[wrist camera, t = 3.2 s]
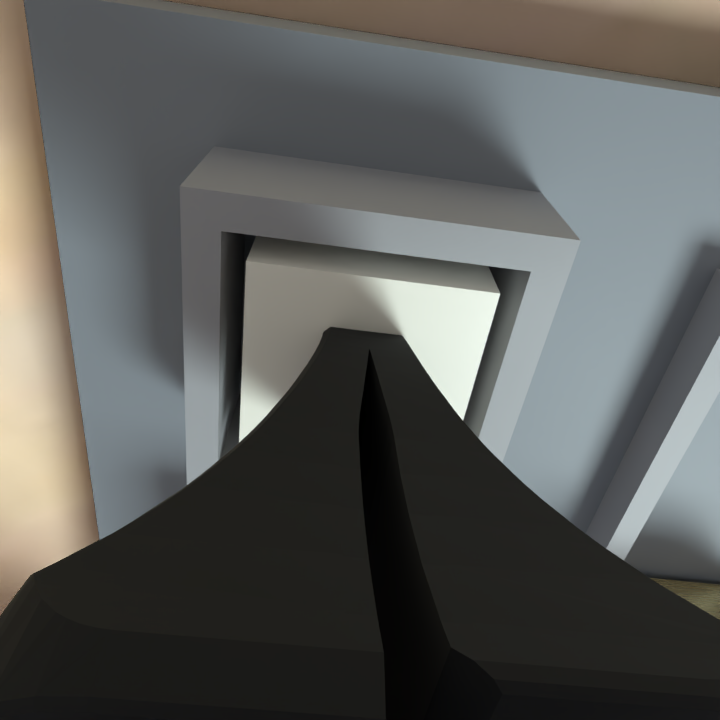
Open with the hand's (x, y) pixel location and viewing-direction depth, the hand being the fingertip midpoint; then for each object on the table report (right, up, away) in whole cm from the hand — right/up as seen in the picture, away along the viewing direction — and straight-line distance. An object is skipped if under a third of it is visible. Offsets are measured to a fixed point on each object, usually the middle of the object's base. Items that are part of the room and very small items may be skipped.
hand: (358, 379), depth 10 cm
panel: (+4, -1, +6) cm, 7 cm away
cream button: (0, +1, +2) cm, 2 cm away
